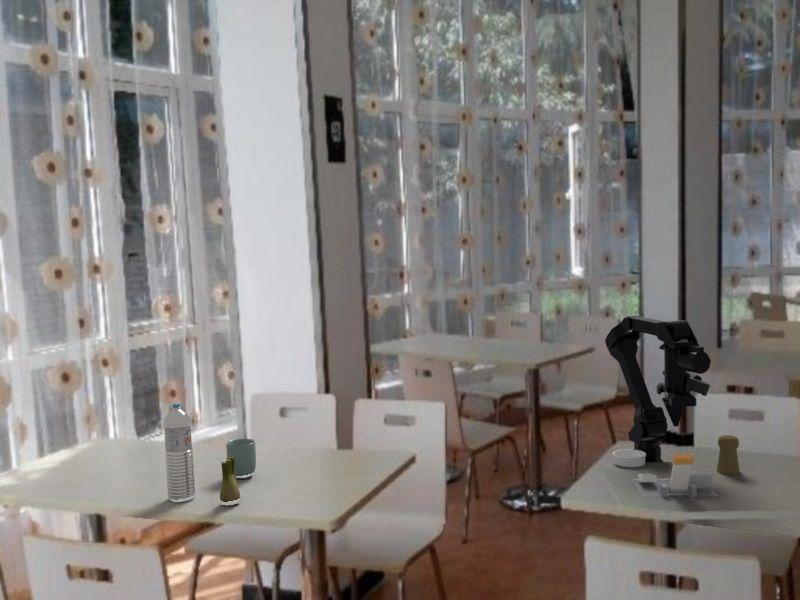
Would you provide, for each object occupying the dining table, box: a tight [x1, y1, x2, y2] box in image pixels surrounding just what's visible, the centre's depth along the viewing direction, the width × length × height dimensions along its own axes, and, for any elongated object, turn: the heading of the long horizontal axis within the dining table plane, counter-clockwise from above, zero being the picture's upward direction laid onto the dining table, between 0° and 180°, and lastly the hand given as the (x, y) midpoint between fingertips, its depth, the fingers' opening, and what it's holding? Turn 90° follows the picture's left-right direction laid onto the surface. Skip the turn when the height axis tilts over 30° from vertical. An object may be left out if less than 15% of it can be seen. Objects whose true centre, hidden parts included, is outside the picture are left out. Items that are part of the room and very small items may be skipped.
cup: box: [225, 438, 257, 476], centre depth 245 cm, size 8×8×10 cm
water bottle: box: [163, 402, 196, 500], centre depth 227 cm, size 7×7×25 cm
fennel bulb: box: [219, 456, 241, 502], centre depth 222 cm, size 6×5×12 cm
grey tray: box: [629, 477, 719, 498], centre depth 220 cm, size 15×18×4 cm
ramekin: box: [612, 448, 646, 468], centre depth 242 cm, size 9×9×4 cm
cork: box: [716, 434, 741, 476], centre depth 231 cm, size 6×6×11 cm
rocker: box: [637, 473, 658, 482], centre depth 222 cm, size 5×4×2 cm
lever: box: [668, 453, 694, 494], centre depth 211 cm, size 2×4×12 cm, turn 86°
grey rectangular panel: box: [689, 471, 713, 489], centre depth 216 cm, size 1×6×5 cm, turn 86°
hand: (675, 426), depth 234 cm, fingers closed
